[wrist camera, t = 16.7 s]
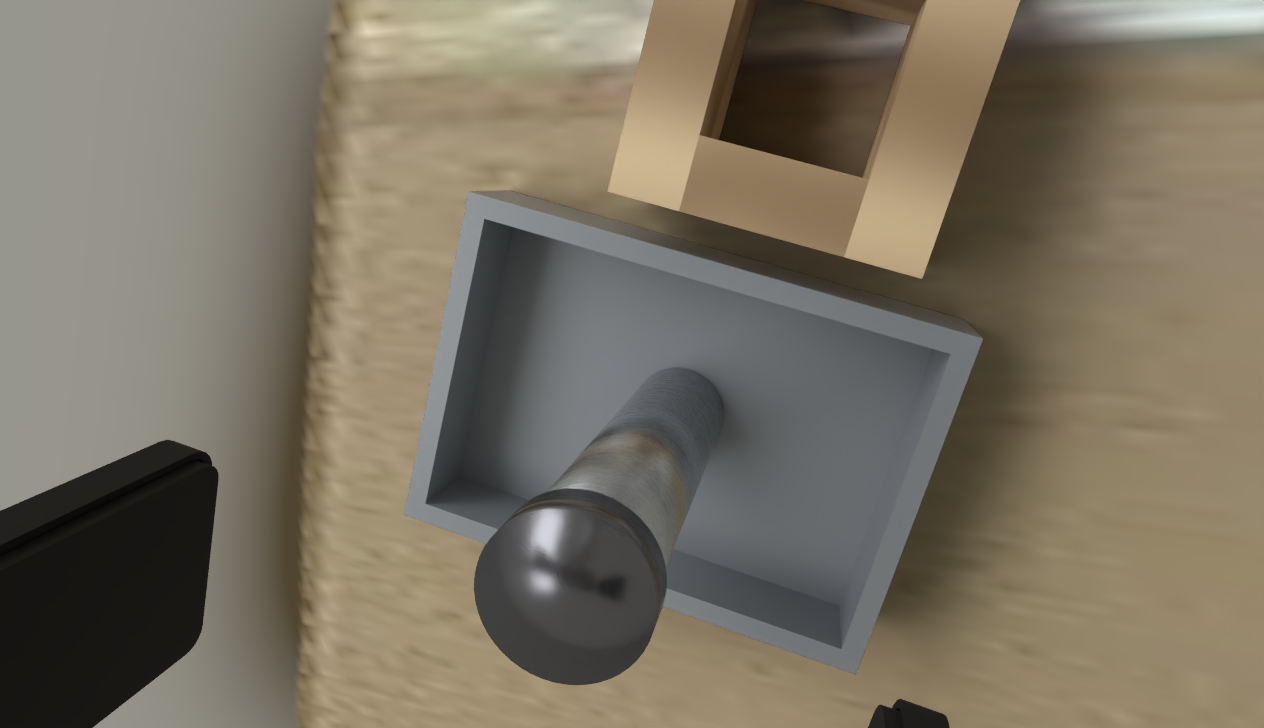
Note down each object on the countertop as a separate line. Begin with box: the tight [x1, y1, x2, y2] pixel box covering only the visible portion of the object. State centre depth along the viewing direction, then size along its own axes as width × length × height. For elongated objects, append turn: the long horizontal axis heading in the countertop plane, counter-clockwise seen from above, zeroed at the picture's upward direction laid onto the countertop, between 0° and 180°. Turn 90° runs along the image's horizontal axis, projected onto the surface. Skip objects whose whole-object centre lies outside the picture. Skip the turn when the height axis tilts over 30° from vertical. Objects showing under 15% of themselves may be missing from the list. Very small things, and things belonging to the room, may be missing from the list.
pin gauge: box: [474, 367, 724, 685], centre depth 20 cm, size 3×3×12 cm
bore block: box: [608, 0, 1020, 279], centre depth 21 cm, size 8×8×4 cm
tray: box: [404, 190, 983, 675], centre depth 25 cm, size 10×14×3 cm
